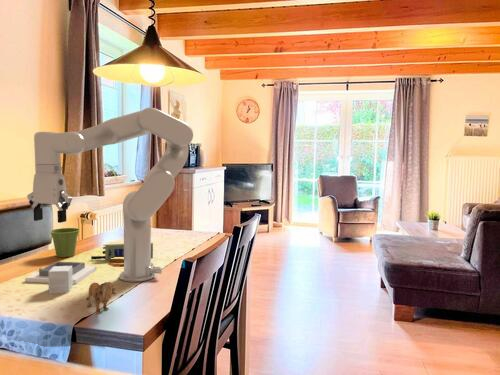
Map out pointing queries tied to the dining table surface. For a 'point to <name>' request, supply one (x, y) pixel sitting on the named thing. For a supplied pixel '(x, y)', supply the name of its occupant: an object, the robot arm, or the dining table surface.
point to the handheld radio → (115, 251)
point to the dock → (77, 267)
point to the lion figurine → (101, 294)
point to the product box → (60, 279)
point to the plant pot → (65, 241)
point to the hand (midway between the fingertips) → (50, 221)
